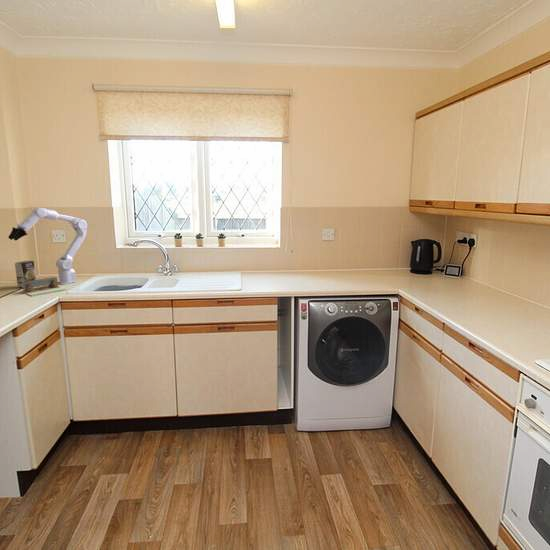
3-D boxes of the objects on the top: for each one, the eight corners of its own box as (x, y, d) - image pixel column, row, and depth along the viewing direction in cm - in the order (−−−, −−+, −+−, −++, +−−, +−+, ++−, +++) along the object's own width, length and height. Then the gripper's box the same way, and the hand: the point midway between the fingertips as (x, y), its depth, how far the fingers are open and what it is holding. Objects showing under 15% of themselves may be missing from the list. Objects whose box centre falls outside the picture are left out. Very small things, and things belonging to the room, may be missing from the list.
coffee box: (26, 288, 251) (22, 263, 248) (17, 287, 253) (13, 262, 249) (37, 285, 260) (34, 260, 257) (28, 284, 261) (25, 260, 258)
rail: (55, 282, 254) (54, 276, 254) (57, 282, 252) (56, 277, 251) (23, 287, 241) (22, 281, 240) (25, 288, 239) (25, 282, 238)
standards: (54, 286, 257) (53, 278, 256) (59, 287, 251) (58, 280, 250) (22, 291, 243) (21, 283, 242) (28, 293, 238) (26, 285, 237)
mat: (61, 287, 252) (61, 286, 251) (67, 289, 246) (67, 288, 246) (26, 294, 237) (26, 293, 236) (31, 296, 231) (31, 295, 231)
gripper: (18, 217, 246) (1, 233, 240) (27, 218, 237) (10, 235, 231) (28, 225, 251) (12, 241, 245) (37, 226, 242) (20, 243, 236)
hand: (11, 239), depth 238 cm, fingers open, 7 cm apart
